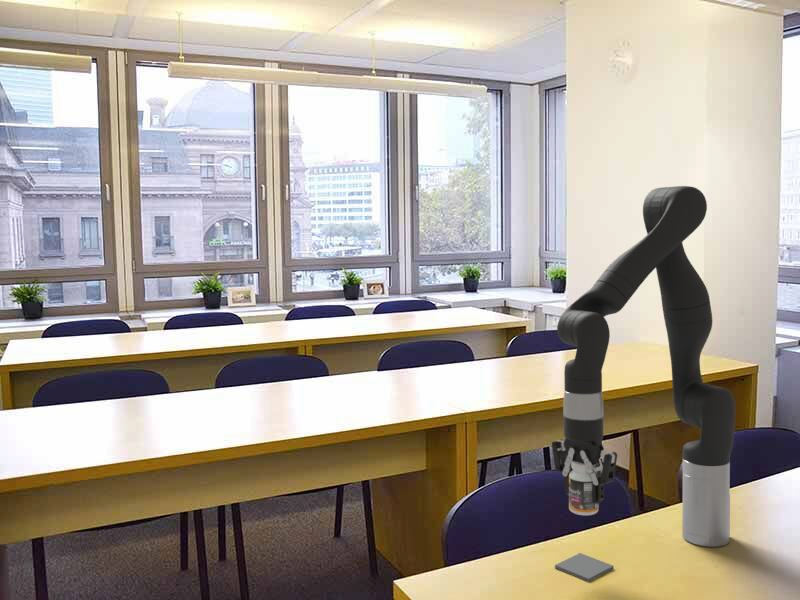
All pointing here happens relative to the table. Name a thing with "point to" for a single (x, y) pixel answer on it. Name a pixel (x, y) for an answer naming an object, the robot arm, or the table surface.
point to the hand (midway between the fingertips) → (583, 498)
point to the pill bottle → (581, 490)
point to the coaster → (584, 567)
